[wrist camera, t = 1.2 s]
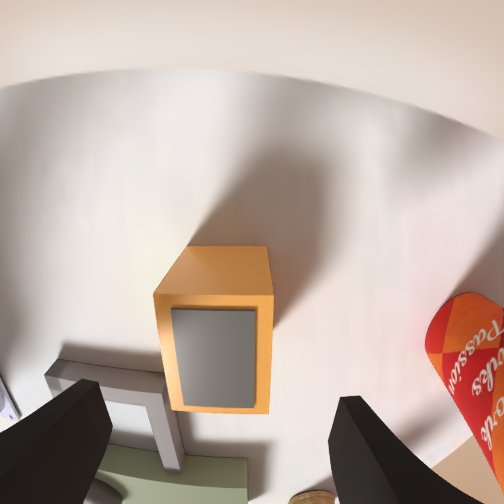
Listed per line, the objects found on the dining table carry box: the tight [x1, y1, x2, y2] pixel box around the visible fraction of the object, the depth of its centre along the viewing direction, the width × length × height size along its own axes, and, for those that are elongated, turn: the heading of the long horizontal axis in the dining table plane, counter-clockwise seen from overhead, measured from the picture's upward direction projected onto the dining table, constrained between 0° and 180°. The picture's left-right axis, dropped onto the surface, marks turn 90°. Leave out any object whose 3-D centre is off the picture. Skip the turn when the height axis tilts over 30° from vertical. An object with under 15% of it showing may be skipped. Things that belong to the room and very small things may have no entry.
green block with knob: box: [44, 359, 248, 504], centre depth 18 cm, size 18×17×5 cm
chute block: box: [153, 246, 274, 414], centre depth 14 cm, size 4×5×6 cm
